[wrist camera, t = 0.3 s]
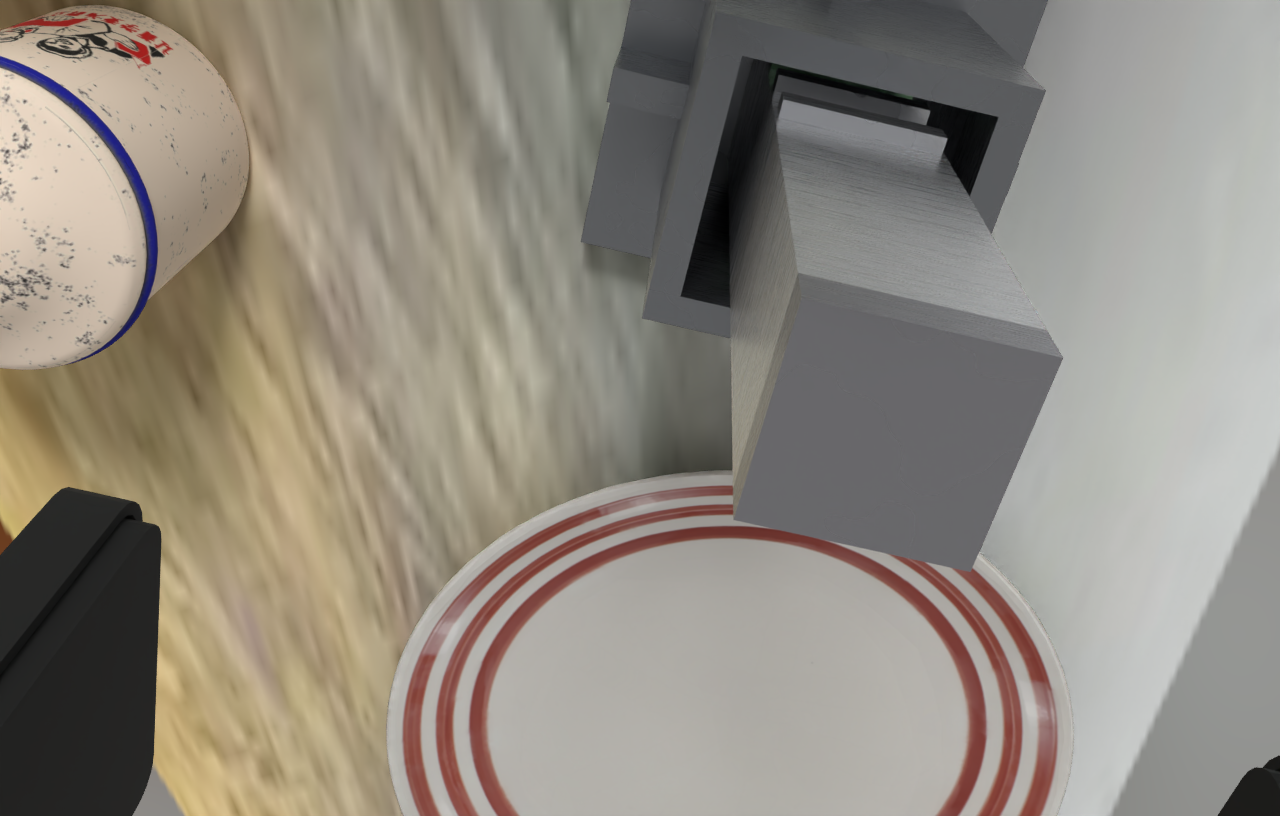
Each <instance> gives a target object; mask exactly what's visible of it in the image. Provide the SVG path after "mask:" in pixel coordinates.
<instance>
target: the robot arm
mask: <svg viewBox="0 0 1280 816" xmlns="http://www.w3.org/2000/svg"><path fill="white" fill-rule="evenodd" d="M160 564H161V531H160V528H159V526H157V525H155V524H150V523H146V522H143V521H142V511H141V508H140V506H139V504H137V503H136V502H134V501H129V500H125V499H120V498H116V497H111V496H107V495H102V494H98V493H93V492H89V491H84V490H79V489H75V488H70V487H67V488H64V489H61V490H60V491H59V492H57V493H56V494H55V495H54V496H53V497H52V498H51V499H50V500H49V501H48V503H47V504H46V505H45V506H44V507H43V508H42V509H41V510H40V511H39V513H38V514H37V515H36V516H35V517H34V518H33V519H32V520H31V521H30V523H29V524H28V525H27V526H26V527H25V528H24V529H23V530H22V531H21V533H20V534H19V535H18V536H17V537H16V538H15V539H14V540H13V541H12V543H11V544H10V545H9V546H8V547H7V548H6V549H5V550H4V552H3V553H2V554H1V555H0V816H132V815H133V813H134V811H135V810H136V808H137V806H138V804H139V802H140V800H141V798H142V796H143V794H144V791H145V789H146V786H147V783H148V780H149V776H150V773H151V769H152V764H153V756H154V732H155V704H156V676H157V648H158V620H159V592H160ZM1218 816H1280V756H1277V757H1275V758H1273V759H1271V760H1269V761H1268V762H1267V764H1266V765H1265V766H1264V767H1263V768H1254V769H1252V770H1250V771H1248V772H1247V773H1246V775H1245V776H1244V777H1243V778H1242V780H1241V781H1240V783H1239V784H1238V786H1237V787H1236V789H1235V790H1234V792H1233V793H1232V795H1231V796H1230V798H1229V799H1228V801H1227V802H1226V804H1225V805H1224V807H1223V808H1222V810H1221V811H1220V813H1219V814H1218Z"/></svg>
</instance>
